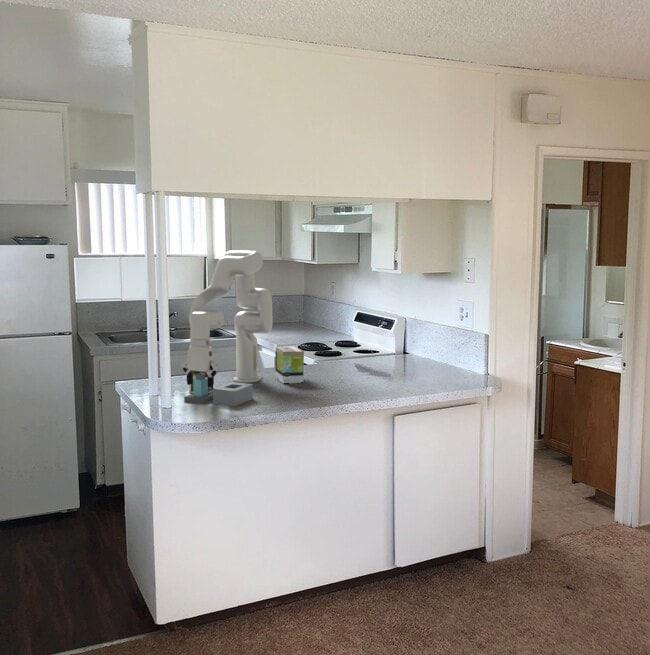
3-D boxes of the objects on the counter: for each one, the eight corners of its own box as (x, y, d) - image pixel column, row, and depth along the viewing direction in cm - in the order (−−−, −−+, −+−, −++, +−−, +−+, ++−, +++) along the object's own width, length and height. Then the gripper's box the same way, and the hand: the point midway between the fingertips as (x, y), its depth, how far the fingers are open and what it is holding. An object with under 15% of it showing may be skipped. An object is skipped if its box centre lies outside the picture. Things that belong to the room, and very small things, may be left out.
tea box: (304, 383, 320) (304, 350, 318) (282, 384, 317) (282, 351, 315) (295, 376, 334) (295, 345, 332) (274, 377, 331) (274, 346, 329)
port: (231, 396, 293) (231, 381, 292) (252, 398, 289) (252, 383, 288) (213, 403, 280) (212, 387, 279) (235, 406, 276) (235, 390, 275)
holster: (198, 396, 291) (198, 391, 291) (217, 399, 287) (217, 393, 287) (184, 402, 282) (184, 396, 282) (203, 404, 278) (203, 399, 278)
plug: (200, 398, 288) (200, 372, 286) (208, 399, 286) (207, 373, 285) (193, 401, 283) (193, 374, 282) (201, 402, 282) (200, 375, 280)
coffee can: (218, 392, 300) (217, 359, 298) (195, 395, 294) (195, 361, 292) (206, 387, 308) (206, 355, 306) (184, 390, 302) (184, 357, 300)
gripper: (223, 343, 281) (223, 385, 283) (187, 340, 288) (187, 381, 290) (213, 345, 274) (213, 389, 276) (176, 342, 281) (176, 385, 283)
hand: (200, 385), depth 283 cm, fingers open, 9 cm apart
